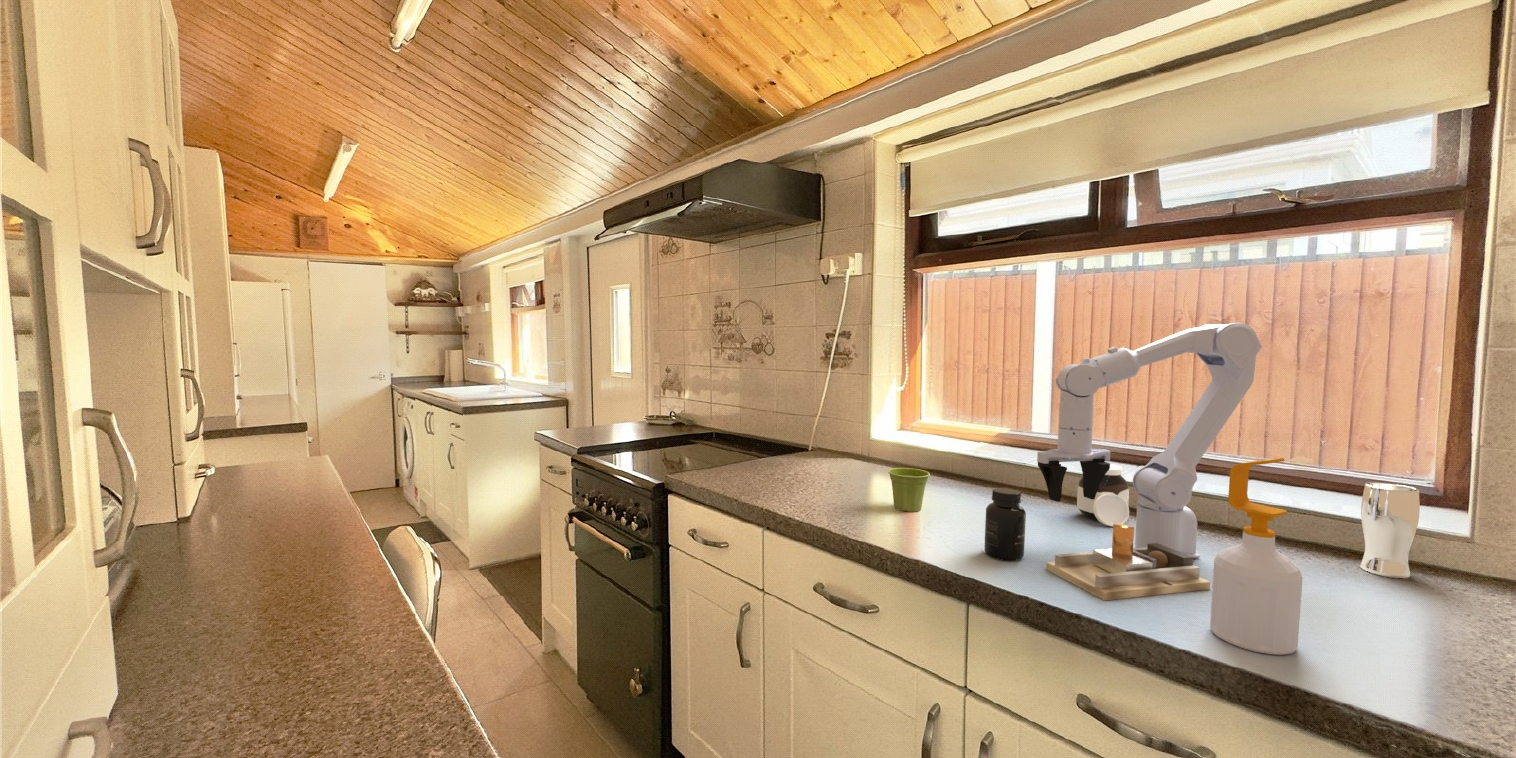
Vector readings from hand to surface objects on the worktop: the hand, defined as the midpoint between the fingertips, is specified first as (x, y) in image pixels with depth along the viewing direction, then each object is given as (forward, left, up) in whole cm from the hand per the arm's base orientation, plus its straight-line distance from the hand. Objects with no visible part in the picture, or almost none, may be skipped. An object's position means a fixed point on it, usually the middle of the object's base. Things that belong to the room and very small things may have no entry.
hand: (1072, 499), depth 117 cm
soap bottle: (+2, +36, -10) cm, 37 cm away
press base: (+2, +15, -9) cm, 18 cm away
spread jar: (-21, -14, -10) cm, 27 cm away
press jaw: (+2, +15, -8) cm, 17 cm away
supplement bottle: (+15, +1, -10) cm, 18 cm away
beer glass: (-45, +22, -10) cm, 51 cm away
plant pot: (+18, -31, -10) cm, 37 cm away
